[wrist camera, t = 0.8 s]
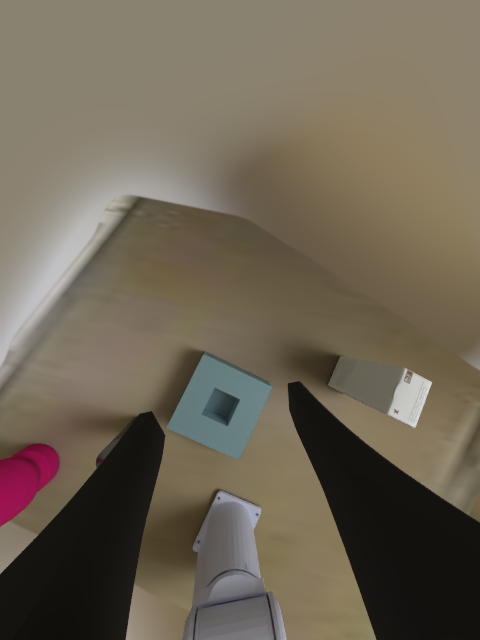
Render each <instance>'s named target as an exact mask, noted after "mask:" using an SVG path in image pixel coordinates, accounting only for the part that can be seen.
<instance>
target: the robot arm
mask: <svg viewBox="0 0 480 640" xmlns="http://www.w3.org/2000/svg"><path fill="white" fill-rule="evenodd" d="M288 395H289V410H290V413H291V416H292V419H293V422H294V425H295V428H296V430H297V433H298V435H299V437H300V439H301V441H302V444H303V446H304V448H305V450H306V452H307V455H308V457H309V459H310V461H311V463H312V466H313V468H314V470H315V472H316V474H317V477H318V479H319V481H320V483H321V486H322V488H323V491H324V493H325V496H326V498H327V501H328V504H329V506H330V509H331V512H332V514H333V517H334V520H335V522H336V525H337V528H338V531H339V533H340V536H341V539H342V542H343V545H344V547H345V550H346V553H347V556H348V558H349V561H350V564H351V567H352V570H353V573H354V575H355V578H356V581H357V584H358V587H359V590H360V593H361V595H362V598H363V601H364V604H365V607H366V610H367V613H368V616H369V619H370V622H371V625H372V628H373V631H374V634H375V636H376V639H377V640H480V522H478V521H476V520H475V519H473V518H472V517H470V516H469V515H467V514H466V513H464V512H462V511H461V510H459V509H458V508H456V507H455V506H453V505H452V504H450V503H449V502H447V501H446V500H444V499H442V498H441V497H439V496H438V495H437V494H435V493H434V492H432V491H431V490H429V489H428V488H426V487H425V486H423V485H422V484H421V483H419V482H418V481H416V480H415V479H413V478H412V477H410V476H409V475H408V474H406V473H405V472H403V471H402V470H400V469H399V468H398V467H396V466H395V465H394V464H392V463H391V462H390V461H388V460H387V459H386V458H384V457H383V456H382V455H380V454H379V453H378V452H376V451H375V450H374V449H373V448H371V447H370V446H369V445H367V444H366V443H365V442H364V441H363V440H361V439H360V438H359V437H358V436H356V435H355V434H354V433H353V432H352V431H351V430H349V429H348V428H347V427H346V426H345V425H344V424H343V423H341V422H340V421H339V420H338V419H337V418H336V417H335V416H334V415H333V414H332V413H331V412H330V411H328V410H327V409H326V408H325V407H324V406H323V405H322V404H321V403H320V402H319V401H318V400H317V399H316V398H315V397H314V396H313V395H312V394H311V393H310V392H309V391H308V389H307V388H306V387H305V386H304V385H303V384H302V383H301V382H300V381H298V382H293V383H288ZM164 441H165V434H164V432H163V430H162V429H161V427H160V425H159V423H158V422H157V420H156V418H155V416H154V414H153V413H152V411H151V412H146V413H141V414H139V416H138V417H137V418H136V419H135V421H134V422H133V423H132V424H131V426H130V427H129V428H128V430H127V431H126V432H125V434H124V435H123V436H122V437H121V439H120V440H119V441H118V443H117V444H116V445H115V446H114V448H113V449H112V450H111V452H110V453H109V454H108V455H107V457H106V458H105V459H104V461H103V462H102V463H101V464H100V465H99V467H98V468H97V469H96V470H95V471H94V473H93V474H92V475H91V476H90V477H89V479H88V480H87V481H86V482H85V483H84V485H83V486H82V487H81V488H80V489H79V491H78V492H77V493H76V494H75V495H74V497H73V498H72V499H71V500H70V501H69V502H68V503H67V504H66V506H65V507H64V508H63V509H62V510H61V511H60V512H59V513H58V514H57V516H56V517H55V518H54V519H53V520H52V521H51V522H50V523H49V524H48V525H47V526H46V528H45V529H44V530H43V531H42V532H41V533H40V534H39V535H38V536H37V537H36V538H35V539H34V540H33V542H31V543H30V545H28V547H26V548H25V550H24V551H22V553H21V554H20V555H19V556H18V557H17V558H16V559H15V560H14V561H13V562H12V563H11V564H10V565H9V566H8V567H7V568H6V569H5V570H4V571H3V572H2V573H1V574H0V640H125V639H126V632H127V626H128V619H129V612H130V605H131V599H132V593H133V587H134V581H135V575H136V569H137V563H138V558H139V552H140V547H141V541H142V536H143V531H144V527H145V522H146V518H147V514H148V510H149V507H150V503H151V499H152V495H153V491H154V487H155V484H156V480H157V476H158V472H159V468H160V464H161V460H162V455H163V448H164ZM217 497H220V498H217ZM256 513H258V514H256ZM260 514H261V508H260V507H259V506H256V505H254V504H252V503H249V502H247V501H245V500H242V499H240V498H238V497H235V496H233V495H231V494H228V493H226V492H224V491H221V490H220V491H218V492H217V494H216V496H215V499H214V501H213V503H212V505H211V507H210V509H209V512H208V514H207V516H206V518H205V520H204V522H203V525H202V527H201V529H200V531H199V533H198V535H197V538H196V540H195V542H194V544H193V551H195V552H198V556H197V565H196V574H195V583H194V593H193V602H192V609H191V611H190V613H189V615H188V617H187V619H186V622H185V627H184V633H183V640H286V634H285V629H284V624H283V619H282V614H281V610H280V606H279V603H278V601H277V599H276V598H275V596H274V595H273V593H272V592H271V591H270V592H267V594H266V591H265V585H264V579H263V578H261V576H260V570H259V563H258V557H257V550H256V544H255V537H254V531H253V530H254V528H255V526H256V523H257V521H258V519H259V516H260ZM198 540H200V541H198Z"/></svg>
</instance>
